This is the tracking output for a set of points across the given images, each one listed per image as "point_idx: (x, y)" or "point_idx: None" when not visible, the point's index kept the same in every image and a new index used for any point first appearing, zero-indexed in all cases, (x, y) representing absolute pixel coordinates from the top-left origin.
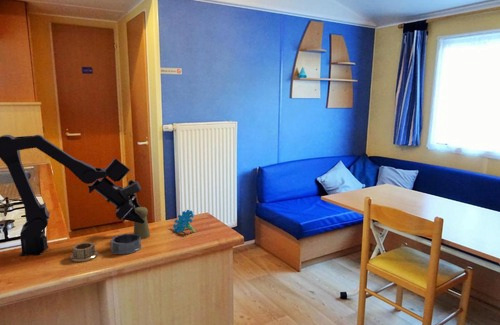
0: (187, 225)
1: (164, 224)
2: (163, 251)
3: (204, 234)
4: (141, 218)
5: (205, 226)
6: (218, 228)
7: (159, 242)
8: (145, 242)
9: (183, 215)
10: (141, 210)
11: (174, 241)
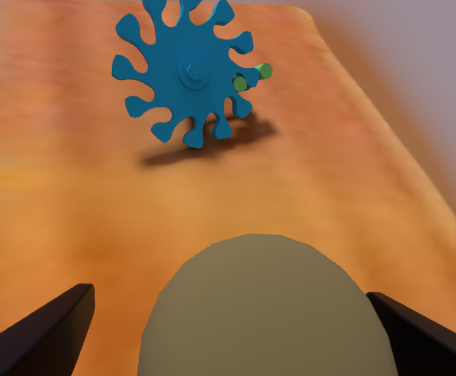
0: (257, 75)
1: (41, 182)
2: (425, 220)
3: None
4: (438, 325)
5: None
6: None
7: (327, 230)
8: None
9: (159, 44)
10: (380, 326)
11: (320, 167)
